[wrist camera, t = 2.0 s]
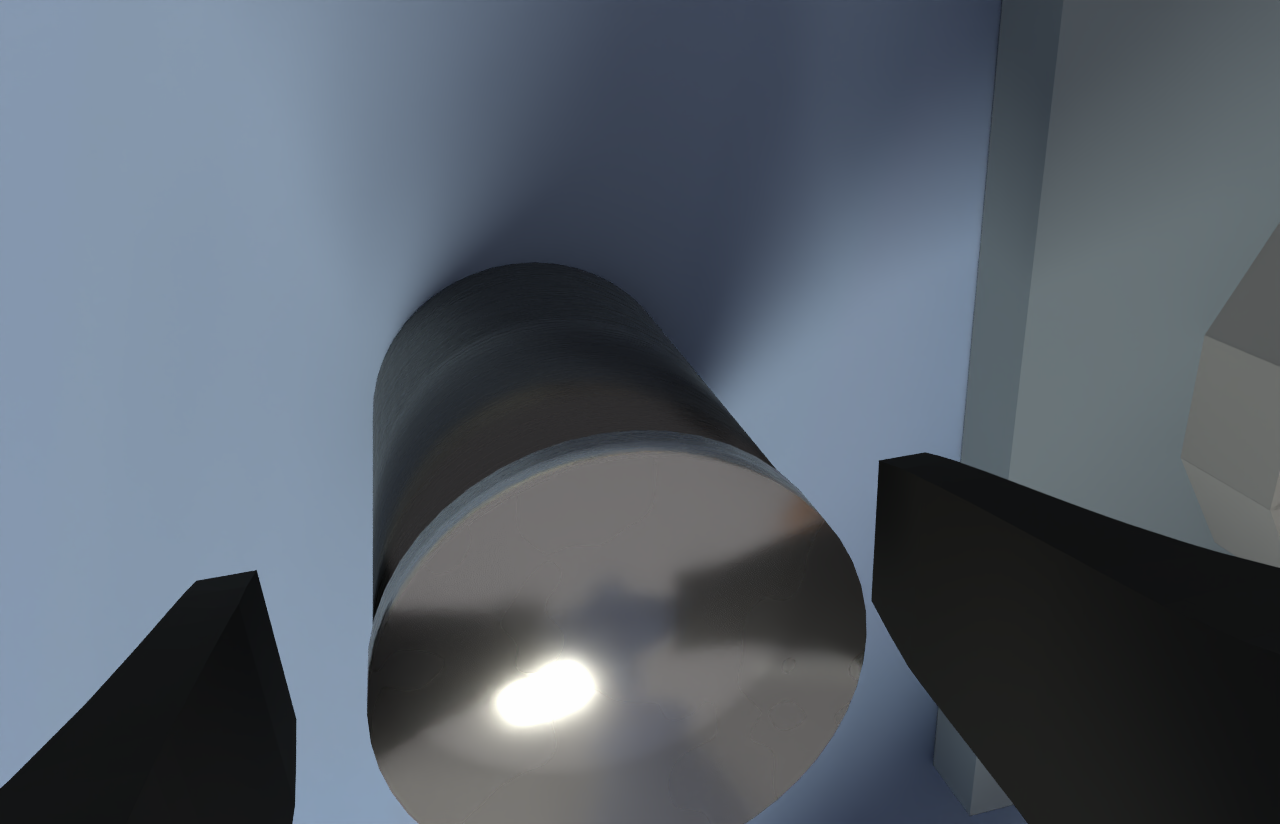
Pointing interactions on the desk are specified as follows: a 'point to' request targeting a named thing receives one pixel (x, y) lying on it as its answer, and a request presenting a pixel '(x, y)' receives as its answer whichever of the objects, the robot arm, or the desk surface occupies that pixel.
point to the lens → (588, 573)
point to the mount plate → (1131, 278)
